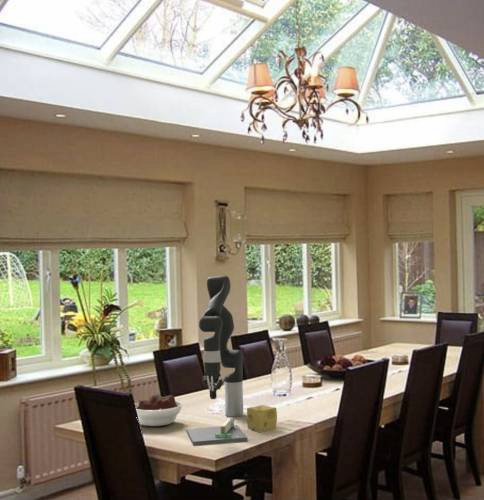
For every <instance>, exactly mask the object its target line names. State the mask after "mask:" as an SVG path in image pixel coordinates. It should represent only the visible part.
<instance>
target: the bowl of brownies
mask: <svg viewBox="0 0 484 500" xmlns="http://www.w3.org/2000/svg"><path fill="white" fill-rule="evenodd" d="M134 404H135V406H136V410H137V414H138V418H139V421H140V423H139V424H141V425H142V426H147V427H149V426H150V427H162V426H167V425H171V424H173V423H174V422H176V419H177V417H178V415H179V414H180V412H181V411H182V408H183V404H182V402H181V401H177V400H176V399H175V396H174V395H165V396H161V394H159V393H154V394H152V395H151V396H150V397H149V398H148V399H142V400H139V401H138V402H136V403H134ZM139 421H138V422H139Z"/></svg>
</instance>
